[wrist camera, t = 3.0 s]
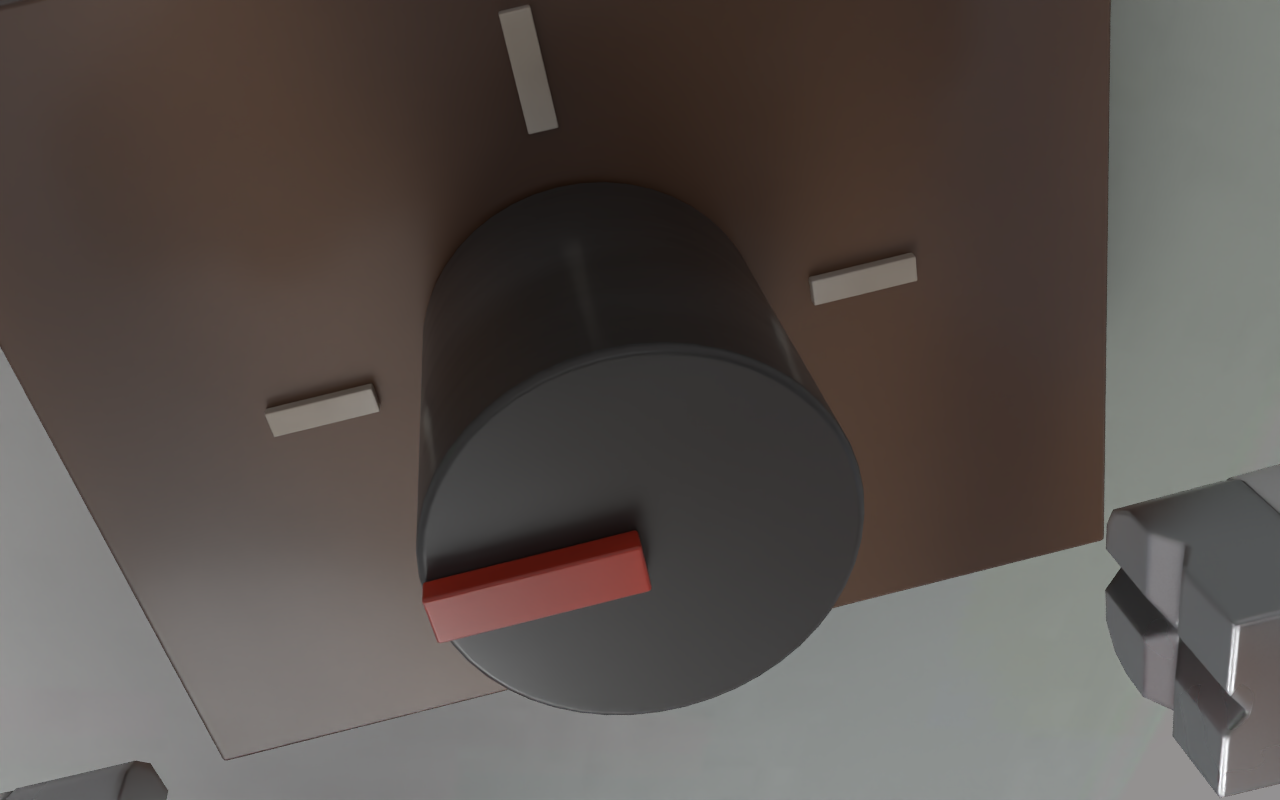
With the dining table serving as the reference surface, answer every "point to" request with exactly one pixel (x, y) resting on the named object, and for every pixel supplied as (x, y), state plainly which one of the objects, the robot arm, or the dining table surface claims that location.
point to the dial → (622, 459)
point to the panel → (464, 200)
